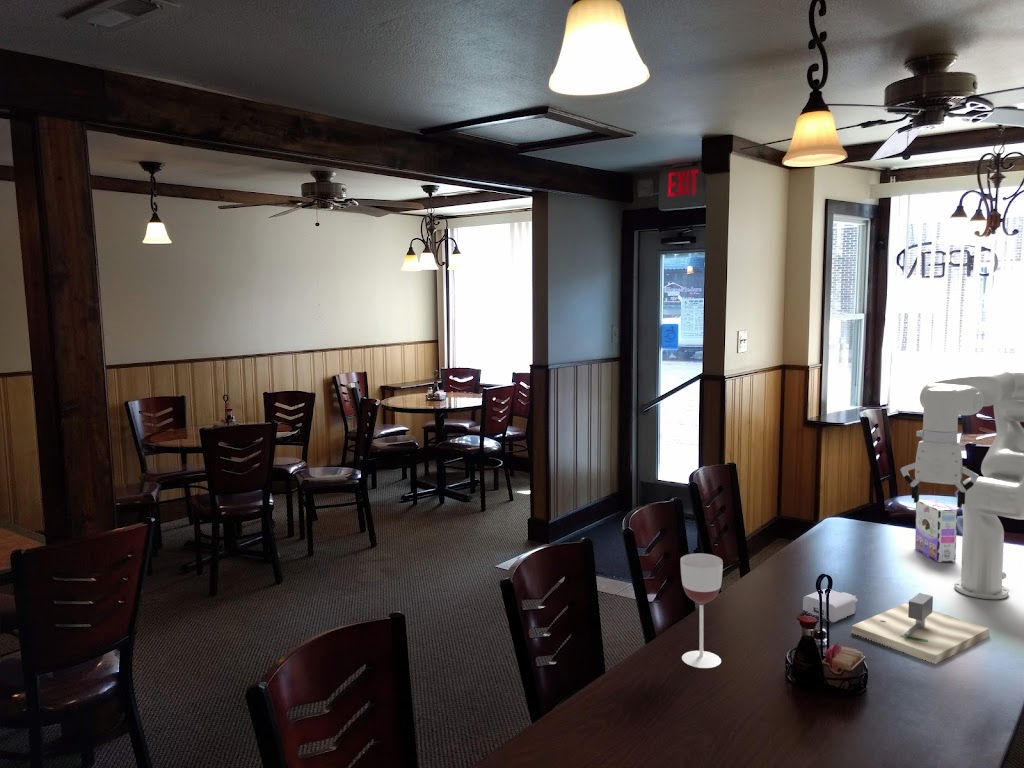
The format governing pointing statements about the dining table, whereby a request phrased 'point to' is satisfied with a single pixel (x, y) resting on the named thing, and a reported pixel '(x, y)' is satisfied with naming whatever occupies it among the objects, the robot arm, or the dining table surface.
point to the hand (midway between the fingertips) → (937, 504)
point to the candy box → (936, 530)
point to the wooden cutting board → (921, 633)
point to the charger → (831, 604)
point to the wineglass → (701, 598)
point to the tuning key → (919, 611)
